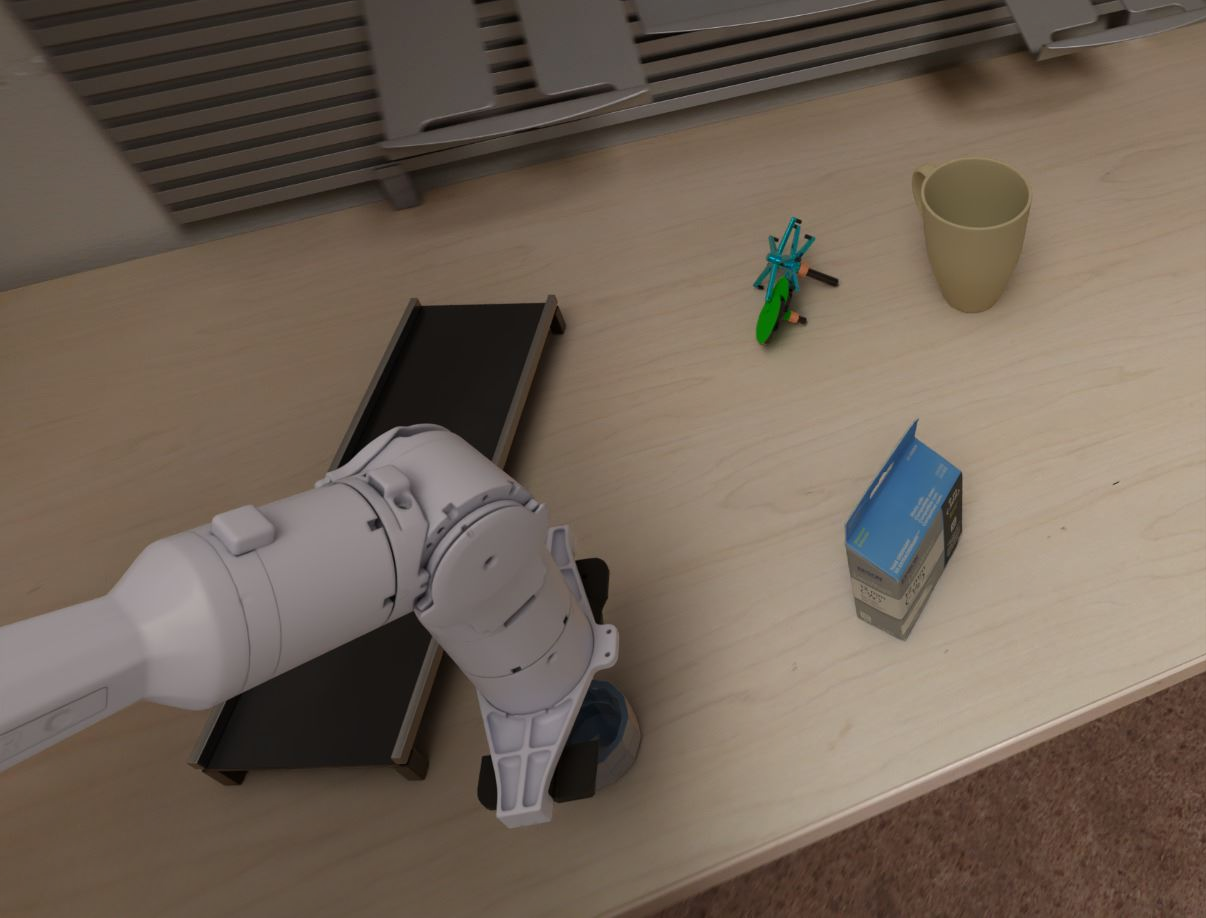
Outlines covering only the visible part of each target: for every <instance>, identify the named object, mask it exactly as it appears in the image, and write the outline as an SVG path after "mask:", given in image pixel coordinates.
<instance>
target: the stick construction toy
mask: <svg viewBox="0 0 1206 918" xmlns="http://www.w3.org/2000/svg"><path fill="white" fill-rule="evenodd" d="M802 223H803V220H802V219H800V218H797V217H795V216H792V217H791V219H790V220H789V222H788V225H787V227H786V229H785V231H784V233H783V236H782V237H781V239H780V238H778V237H776V236H774V235H771V234H770V235H769V236H768V238H767V239H768V245H769V252H768V253H767V255H766V257H765V261H766V262H767V264H766V266H765V267H764V269H763V270H762V271H761V273H760V274H759V276H758V277H757V278H756V279H755V280H754V282H753V284H752V287H753V288H755V289H757V290H758V289H759V290H760V291H761V290H764V285H763V284H762V282H763V281H764V280H765V279H766V278H767V277H768V282H767V288H766V293H765V297H764V305H763V306H762V308H761V309H760V312H759V315H758V318H757V321H756V326H755V327H756V328H755V338H756V341H757V342H758V343H759V344H761V345H764V346H768V345H769V344H770V343H771V341H772V340H773V339H774V337H775V336H776V333H777V331H778V329H779V327H780V325H781V324H780V323H781V321H782V320H784V321H787V322H790V323H793V324H796V323H797V324H800V325H805V324H806V323H807V321H808V318H807V317H806V316H803V315H800V314H799V312H796V311H794V310H792V309H791V310H790V309H789V308H790V305H791V302H792V299H793V292H796V293H799V291H800V285H799V280H798V279H799V278H801V279H804V278H805V277H808V278H811V279H813V280H815V281H819V282H822V283H823V284H826V285H829V286H832V287H837V286H838V284H839V278H837V277H834V276H832V275H829V274H828V273H824V272H822V271H819V270H816V269H814V268H811V267H810V265H809V263H808V262H805V261H803V260H802V257H803V256H805V254H806V253H807V251H808V250H809V249H810V247H811V246H812V245H813V243H814V242H815V241H816V237H815V236H813V235H810V234H808V233H805V234H804V236H803V238H804V239H805V240H806V241H805V243H804V244H803V245H802V246H801V247H800V249H799V250H798V247H799V239H800V234H801V225H802ZM793 229H794V233H793V236H792V242H791V247H790V251H789V254H783V253H784V251H785V248H786V245H787V243H788V240H789V238H790V236H791V234H792V232H793ZM779 241H780V242H779ZM776 243H779V244H778V247H777V245H776ZM778 271H783V274H782V276H781V277H779V279H778V280H777V282H776V283H775V281H776V278H777V272H778ZM768 275H769V276H768Z"/></svg>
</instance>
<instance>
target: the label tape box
mask: <svg viewBox="0 0 1206 918" xmlns="http://www.w3.org/2000/svg"><path fill="white" fill-rule="evenodd" d="M919 421H920V418H916V419H914V420H913V421H912V422H911V424H910V425H909V426H908V428H907V429H906V430H905V431H904V433H903V435H902V436H901V437H900V439H899V440H898V442H897V443H896V444H895V446H894V448H893V449H892V451H890V453H889V455H888V457H886V460H885V461H884V462H883V464H882V465H881V467H880V468H879V470H878V471H877V472H876V474H875V476H874V477H873V479H872V480H871V482H870V483H869V485H868V486H867V488H866V489H865V490H864V492H863V494H862V495H861V497H860V498H859V500H858V501H857V503H856V505H855V506H854V508H853V509H852V510H851V512H850V514H849V515H848V517H847V518H846V519H845V522H844V546H845V547H844V548H845V552H846V553H845V554H846V558H847V559H846V560H847V566H848V571H849V576H850V584H851V589H852V594H853V599H854V605H855V611H856V617H857V618H858V619H860V620H862V621H864V622H866V623H867V624H870V626H874V627H875V628H878V629H880V630H881V631H884V632H885V633H887V634H889V635H892V636H893V637H895V638H897V639H899V640H900V641H904V642H905V641H906V640H907V638H908V637H909V634H910V633H911V631H912V630H913V628H914V626H915V624H916V622H917V621H918V618H919V617H920V615H921V613H922V612H923V609H924V607H925V606H926V605H927V602H928V600H929V598H930V596H931V594H932V592H933V591H934V588H935V587H936V585H937V583H938V581H939V579H940V578H941V575H942V573H943V571H944V570H945V568H946V566H947V565H948V562H949V561H950V559H951V557H952V555H953V553H954V551H956V549H957V546H958V545H959V542H960V540H961V539H962V536H963V478H964V477H963V471H962V470H961V469H959V468H958V467H956V466H955V465H954V464H952V463H951V462H950V461H948V459H946V458H944V457H943V456H942V455H940V454H939V453H938V452H937V451H935V450H934V449H932V448H931V447H929V446H928V445H927V444H925V443H924V442H922V441H921V440H920V439H918V438H917V437H916V432H917V428H918V422H919ZM884 474H885V475H884ZM883 475H884V476H883ZM882 477H883V478H882ZM881 478H882V479H881ZM880 480H881V481H880ZM874 490H875V491H874ZM873 491H874V492H873Z"/></svg>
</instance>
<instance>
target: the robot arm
mask: <svg viewBox="0 0 1206 918" xmlns="http://www.w3.org/2000/svg"><path fill="white" fill-rule="evenodd" d="M325 475H326V476H324V478H321V479H318V480H317V481H316V482H315V483H314V487H313V488H311V489H308V490H304V491H302V492H299V493H296V494H293V495H290V496H287V497H284V498H280V499H278V500H274V501H271V502H268V503H266V504H262V505H259V506H256V505H255V504H251V503H250V504H249V503H248V504H245V505H242V506H240V507H236V508H233V509H231V510H227V511H225V512H221V513H218V514H216V515H214V516H213V517H212V520H211V522H208V523H205V524H202V525H199V526H196V527H193V528H189V529H187V530H184V531H181V532H178V533H176V534H175V533H174V534H171V535H169V536H166V537H162V538H160V539H157V540H155V541H153V542H151V543H150V544H148V545H147V546H146V547H145V548H144V549H143V550H142V551H141V552H140V553H139V554H138V555H137V557H136V558H134V561H133V562H132V563H131V565H130V566H129V567H128V569H126V571H125V572H124V573H123V575H122V576H121V578H120V579H119V580H118V581H117V582H116V583H115V585H114V586H113V587H112V588H111V589H110V590H109V591H108V592H107V593H106V594H105V595H104V596H103V595H102V596H99V597H96V598H93V599H90V600H87V601H83V602H80V603H76V604H73V605H69V606H67V607H63V608H59V609H56V610H53V611H50V612H46V613H43V614H40V615H36V616H32V617H29V618H25V619H23V620H19V621H15V622H13V623H9V624H6V625H2V626H0V774H1V773H3V772H4V771H7V770H8V769H10V768H13V767H14V766H16V765H18V764H20V763H22V762H24V761H26V760H27V759H29V758H30V759H31V758H32V757H34V756H35V755H38V754H39V753H41V752H43V751H45V750H47V749H49V748H50V747H52V746H55V745H56V744H59V743H61V742H63V741H64V740H67V739H68V738H70V737H72V736H74V735H76V734H78V733H80V732H82V731H83V730H86V729H88V728H89V727H91V726H93V725H95V724H97V723H99V722H101V721H103V720H105V719H107V718H109V717H110V716H112V715H114V714H117V713H118V712H120V711H122V710H124V709H126V708H128V707H130V706H132V705H134V704H135V703H137V702H149V703H153V704H159V705H162V706H168V707H172V708H177V709H181V710H186V711H197V712H198V711H206V710H208V709H212V708H214V706H216V705H218V704H220V703H222V702H224V701H226V700H228V699H230V698H232V697H234V696H236V695H239V694H241V693H243V692H245V691H247V690H249V689H251V688H253V687H255V686H257V685H259V684H262V683H264V682H266V681H268V680H270V679H272V678H274V677H276V676H278V675H280V674H282V673H285V672H287V671H289V670H291V669H293V668H295V667H297V666H299V665H301V664H303V663H305V662H308V661H310V660H312V659H314V658H316V657H318V656H320V655H322V654H324V653H326V652H328V651H331V650H333V649H335V648H337V647H339V646H341V645H343V644H345V643H347V642H349V641H351V640H354V639H356V638H358V637H360V636H362V635H364V634H366V633H368V632H370V631H372V630H374V629H376V628H378V627H381V626H383V625H385V624H387V623H389V622H391V621H393V620H395V619H398V618H400V617H402V616H404V615H406V614H408V613H410V612H412V611H414V612H415V614H416V616H417V618H418V619H419V621H420V622H421V623H422V625H423V626H424V627H425V628H426V629H427V630H428V631H429V633H430V634H431V635H432V636H433V637H434V638H435V640H436V641H437V642H438V643H439V644H440V645H441V647H442V648H443V649H444V651H445V652H446V654H447V655H448V656H449V657H450V658H451V660H452V661H453V662H454V663H455V664H456V666H457V667H458V668H459V670H461V672H463V674H464V675H465V676H466V677H467V679H468V680H469V681H470V682H471V683H472V684H473V685H474V687H475V691H476V696H477V699H478V704H479V708H480V713H481V718H482V722H483V725H484V726H483V727H484V731H485V735H486V739H487V743H488V748H489V752H490V754H486V755H482V756H481V761H480V768H479V774H478V781H477V788H476V795H477V800H478V801H479V802H480V804H481V805H482V806H483V807H484V809H486V810H488V811H496V812H495V818H496V819H498V820H499V821H500V822H501V824H503V825H504V826H505V827H506V828H508V829H509V830H512V829H517V828H522V827H529V826H530V827H531V826H535V825H538V824H544V823H549V822H550V823H551V822H552V820H553V813H554V803H557V804H563V803H569V802H574V801H579V800H585V799H590V798H593V797H594V796H595V795H596V791H595V788H596V775H597V764H598V749H599V740H594V741H589V742H583V743H577V744H572V745H566V746H565V744H566V741H567V739H568V736H569V734H570V732H571V729H572V727H573V724H574V722H575V719H576V717H577V715H578V712H579V710H580V707H581V705H582V703H583V700H584V698H585V695H586V693H587V690H588V688H589V686H590V683H591V681H592V680H593V678H594V676H595V674H597V672H599V671H601V670H607V669H610V668H612V667H614V666H615V665H616V664H617V663H618V659H619V653H620V651H619V650H620V648H619V647H620V633H619V631H618V628H617V626H615V625H614V624H612V623H604V617H603V615H604V614H603V610H604V607H605V606H606V603H607V601H608V599H609V589H610V574H611V573H610V572H611V571H610V568H609V566H608V564H607V562H605V560H604V559H602V558H599V557H588V558H581V559H576V560H575V557H576V555H577V550H578V540H577V537H576V535H575V534H574V532H573V530H572V528H571V526H570V525H569V524H563V525H555V526H550V518H551V517H550V509H549V506H548V504H547V502H542V503H541V504H540V502H538V501H537V500H535V497H534V496H533V494H532V493H531V492H530V491H529V490H528V489H526V487H524V486H523V485H522V484H520V483H519V482H518V481H516V479H514V478H513V477H511V476H510V475H509V474H508V473H506V472H505V471H504V469H503V470H501V469H500V468H499V467H498V466H496V465H495V464H494V463H493V462H491V461H490V460H489V459H488V458H486V457H485V456H484V455H483V454H481V453H480V452H479V451H477V450H476V449H475V448H474V447H472V446H471V445H470V444H469V443H467V442H466V441H465V440H464V439H462V438H461V437H460V436H458V435H456V434H455V433H452V432H450V431H449V430H448V429H446V428H444V427H442V426H439V425H435V424H417V425H412V426H408V427H403V426H399V427H395V428H393V429H391V430H389V431H387V432H386V433H384V434H382V435H381V436H379V437H377V438H376V439H375V440H373V441H372V442H371V443H369V444H368V445H367V446H366V447H364V448H363V449H362V450H361V451H360V452H359V453H358V454H357V455H356V456H355V457H354V458H353V459H352V460H351V461H350V462H348V463H347V464H346V465H344V466H343V467H341V468H339V469H337V470H334V471H331V472H328V473H327V472H326V473H325Z"/></svg>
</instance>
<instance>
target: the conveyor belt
mask: <svg viewBox="0 0 1206 918" xmlns="http://www.w3.org/2000/svg"><path fill="white" fill-rule="evenodd" d="M558 304H559V301H558V299H557V296H556V294H548V295H547V297H546V301H545V302H517V303H515V302H514V303H513V302H512V303H474V304H470V303H469V304H437V305H436V304H435V305H434V304H433V305H432V304H431V305H422V303H421V301H420V299H419V298H418V297H411V298H410V299H409V302H408V303H407V306H406V307H405V310H404V312H403V314H402V316H401V318H400V320H399V322H398V324H397V326H396V328H395V330H394V332H393V334H392V337H391V338H390V340H389V343H388V345H387V347H386V349H385V351H384V353H383V355H382V357H381V359H380V362H379V363H378V365H377V368H376V370H375V372H374V374H373V376H372V378H371V380H370V382H369V384H368V386H367V388H366V389H365V393H364V394H363V397H362V398H361V401H360V402H359V405H358V407H357V408H356V412H355V414H354V416H353V418H352V420H351V422H350V423H349V426H348V427H347V431H346V432H345V434H344V436H343V438H342V439H341V440H342V441H341V442H340V445H338V446H339V447H338V449H337V451H336V453H335V455H334V457H333V459H332V461H331V463H330V465H329V467H328V469H327V471H326V473H328V472H331V471H334V470H337V469H339V468H341V467H343V466H344V465H346V464H347V463H348V462H350V461H351V460H352V459H353V458H354V457H355V456H356V455H357V454H358V453H359V452H360V451H361V450H362V449H363V448H364V447H366V446H367V445H368V444H369V443H371V442H372V441H373V440H375V439H376V438H377V437H379V436H381V435H382V434H384V433H386V432H387V431H389V430H391V429H393V428H395V427H399V426H403V427H408V426H412V425H417V424H435V425H439V426H442V427H444V428H446V429H448V430H449V431H450V432H452V433H455V434H456V435H458V436H460V437H461V438H462V439H464V440H465V441H466V442H467V443H469V444H470V445H471V446H472V447H474V448H475V449H476V450H477V451H479V452H480V453H481V454H483V455H484V456H485V457H486V458H488V459H489V460H490V461H491V462H493V463H494V464H495V465H496V466H498V467H499V468H500V469H501V470H503V471H504V468H505V465H506V462H507V459H508V456H509V453H510V449H511V446H512V443H513V440H514V438H515V437H514V436H516V432H517V429H518V425H519V422H520V419H521V416H522V414H523V410H524V407H525V404H526V401H527V398H528V395H529V393H530V388H531V386H532V383H533V380H534V377H535V374H536V371H537V367H538V365H539V361H540V359H541V356H542V352H543V349H544V347H545V343H546V340H547V337H548V335H549V331H550V332H551V334H552V335H563V334H564V333H565V331H566V327H567V324H566V321H565V318H564V316H563V314H562V311H561V308H560V306H559V305H558ZM325 476H326V474H325ZM325 476H324V477H325ZM444 651H445V650H444V649H443V648H442V647H441V645H440V644H439V643H438V642H437V641H436V640H435V638H434V637H433V636H432V635H431V634H430V633H429V631H428V630H427V629H426V628H425V627H424V626H423V625H422V623H421V622H420V621H419V619H418V618H417V616H416V614H415V612H414V611H412V612H410V613H408V614H406V615H404V616H402V617H400V618H398V619H395V620H393V621H391V622H389V623H387V624H385V625H383V626H381V627H378V628H376V629H374V630H372V631H370V632H368V633H366V634H364V635H362V636H360V637H358V638H356V639H354V640H351V641H349V642H347V643H345V644H343V645H341V646H339V647H337V648H335V649H333V650H331V651H328V652H326V653H324V654H322V655H320V656H318V657H316V658H314V659H312V660H310V661H308V662H305V663H303V664H301V665H299V666H297V667H295V668H293V669H291V670H289V671H287V672H285V673H282V674H280V675H278V676H276V677H274V678H272V679H270V680H268V681H266V682H264V683H262V684H259V685H257V686H255V687H253V688H251V689H249V690H247V691H245V692H243V693H241V694H239V695H236V696H234V697H232V698H230V699H228V700H226V701H224V702H222V703H220V704H218V705H216V706H214V707H212V710H211V712H210V714H209V716H208V719H207V720H206V723H205V725H204V726H203V729H202V731H201V732H200V735H199V737H198V739H197V741H196V743H195V745H194V747H193V749H192V751H191V754H190V756H189V758H188V760H187V762H186V764H187V765H188V766H190V767H192V768H193V769H195V770H201V773H203V774H204V775H206V776H207V777H210V778H211V779H213V780H214V781H216V782H218V783H219V784H221V785H223V786H224V787H225V786H228V787H229V786H241V785H242V783H243V781H244V778H245V775H246V774H247V771H274V770H275V771H277V770H278V771H279V770H281V771H282V770H315V769H316V770H317V769H318V770H319V769H320V770H321V769H354V768H355V769H357V768H358V769H359V768H360V769H361V768H392V769H394V770H395V771H396V772H397V773H398V774H400V775H401V776H402V777H403V778H404V779H405V780H407V781H408V782H413V781H415V782H417V781H418V782H419V781H425V779H426V775H427V771H428V768H429V765H430V762H429V761H428V760H427V759H426V758H424V756H422V754H421V753H420V752H418V751H417V750H416V749H415V748H413V746H414V743H415V740H416V737H417V733H418V730H419V727H420V724H421V721H422V718H423V715H424V712H425V708H426V705H427V703H428V700H429V696H430V694H431V692H432V688H433V685H434V682H435V678H436V676H437V673H438V669H439V666H440V663H441V660H442V657H443V654H444Z"/></svg>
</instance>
